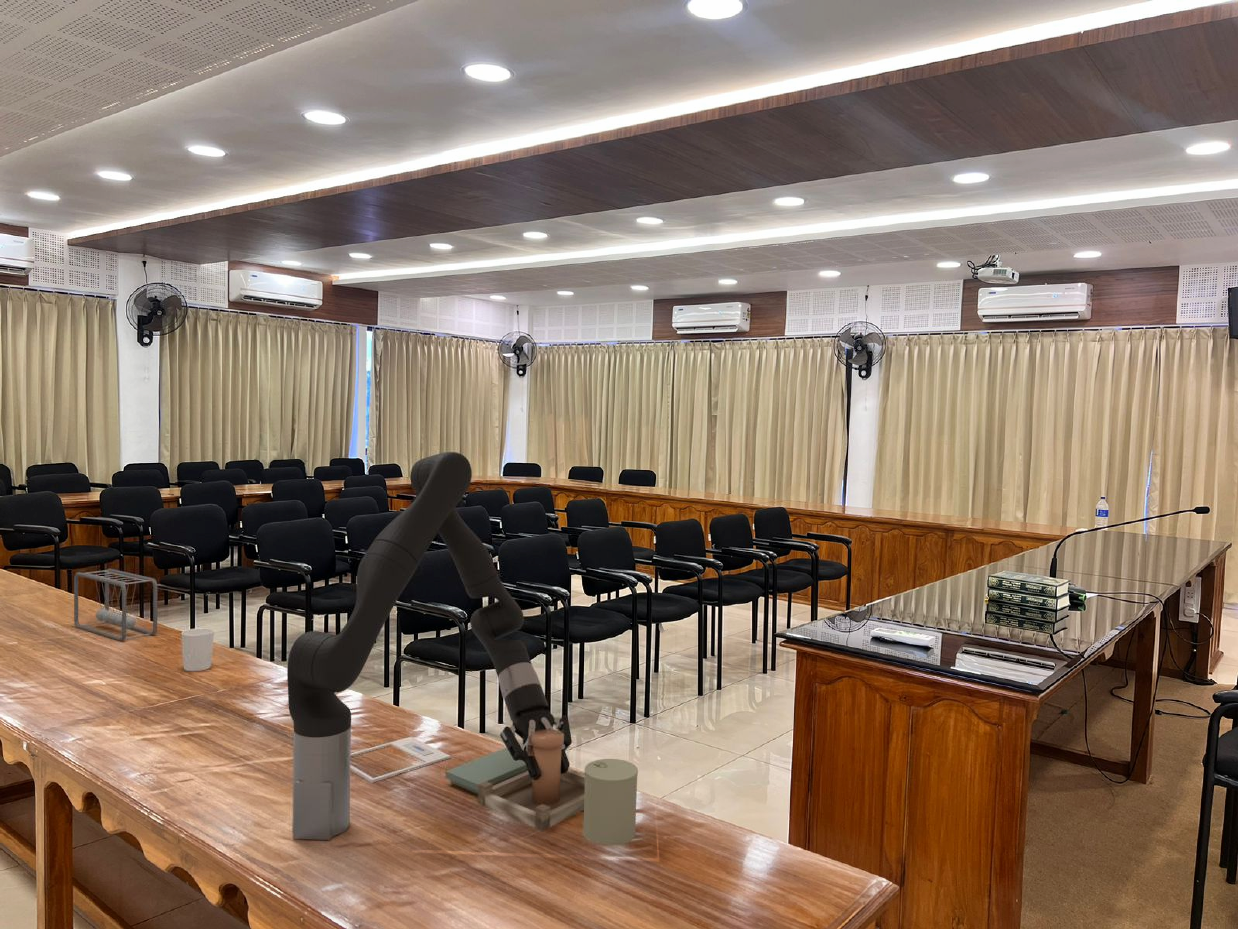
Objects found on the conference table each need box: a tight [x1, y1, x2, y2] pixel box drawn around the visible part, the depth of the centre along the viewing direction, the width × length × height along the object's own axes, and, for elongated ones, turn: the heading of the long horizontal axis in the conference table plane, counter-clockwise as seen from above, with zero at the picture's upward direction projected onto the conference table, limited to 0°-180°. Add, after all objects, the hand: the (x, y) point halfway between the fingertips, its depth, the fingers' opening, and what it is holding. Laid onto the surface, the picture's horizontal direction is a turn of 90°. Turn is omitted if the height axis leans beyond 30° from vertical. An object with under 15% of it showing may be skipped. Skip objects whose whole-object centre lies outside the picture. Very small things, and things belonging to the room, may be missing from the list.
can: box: [582, 758, 639, 846], centre depth 147 cm, size 9×9×12 cm
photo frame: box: [350, 736, 451, 784], centre depth 176 cm, size 15×1×18 cm
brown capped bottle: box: [531, 728, 564, 805], centre depth 159 cm, size 6×6×12 cm
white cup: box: [181, 627, 215, 672], centre depth 234 cm, size 8×8×10 cm
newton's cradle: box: [73, 568, 158, 642], centre depth 269 cm, size 30×10×18 cm, turn 57°
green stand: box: [445, 747, 528, 795], centre depth 168 cm, size 9×16×3 cm, turn 142°
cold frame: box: [477, 768, 585, 832], centre depth 159 cm, size 16×19×4 cm
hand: (551, 774), depth 157 cm, fingers closed on brown capped bottle, 5 cm apart
